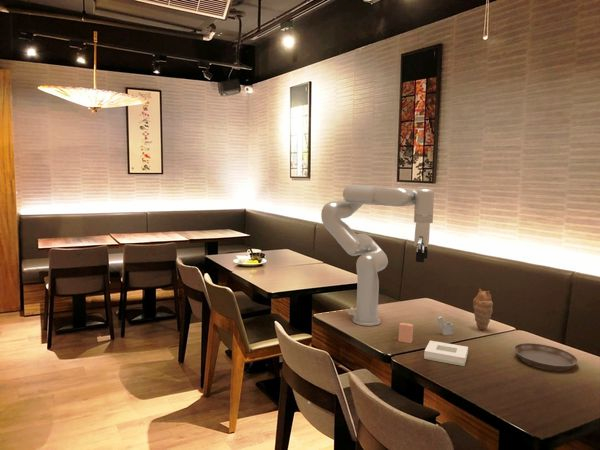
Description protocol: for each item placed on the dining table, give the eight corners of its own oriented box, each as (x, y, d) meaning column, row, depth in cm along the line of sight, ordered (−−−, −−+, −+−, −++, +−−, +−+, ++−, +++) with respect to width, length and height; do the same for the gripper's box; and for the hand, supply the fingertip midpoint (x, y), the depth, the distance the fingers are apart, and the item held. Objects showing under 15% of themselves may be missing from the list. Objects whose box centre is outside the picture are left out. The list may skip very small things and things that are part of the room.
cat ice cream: (467, 328, 206) (470, 288, 204) (480, 325, 210) (483, 286, 208) (483, 334, 198) (486, 293, 196) (496, 332, 202) (499, 291, 200)
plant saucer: (576, 358, 175) (577, 350, 174) (576, 379, 157) (577, 369, 157) (516, 347, 185) (517, 339, 185) (510, 365, 167) (510, 356, 167)
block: (398, 341, 188) (399, 324, 187) (400, 338, 190) (400, 322, 190) (410, 343, 186) (411, 326, 185) (412, 341, 188) (413, 324, 188)
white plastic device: (450, 333, 199) (451, 315, 198) (452, 334, 197) (454, 316, 196) (435, 334, 197) (436, 315, 196) (437, 335, 195) (438, 317, 195)
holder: (424, 358, 170) (424, 350, 170) (429, 347, 181) (430, 340, 181) (464, 366, 165) (465, 358, 164) (467, 354, 175) (468, 346, 175)
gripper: (417, 217, 201) (415, 256, 203) (410, 220, 185) (409, 262, 187) (435, 217, 199) (433, 257, 200) (430, 221, 183) (428, 264, 184)
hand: (421, 260), depth 194 cm, fingers open, 9 cm apart
